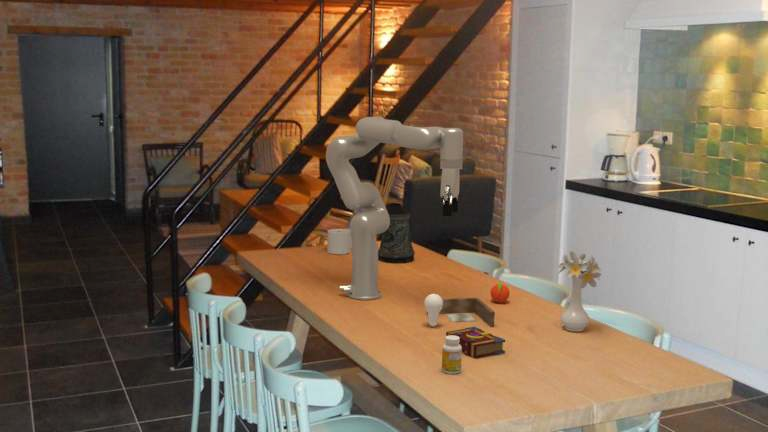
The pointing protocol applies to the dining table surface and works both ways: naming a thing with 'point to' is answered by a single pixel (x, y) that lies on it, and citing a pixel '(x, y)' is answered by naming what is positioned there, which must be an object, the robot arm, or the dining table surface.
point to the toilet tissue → (339, 241)
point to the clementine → (500, 293)
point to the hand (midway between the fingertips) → (450, 214)
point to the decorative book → (478, 342)
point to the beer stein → (396, 237)
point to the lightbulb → (433, 308)
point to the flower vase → (578, 289)
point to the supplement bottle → (451, 355)
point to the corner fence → (467, 310)
